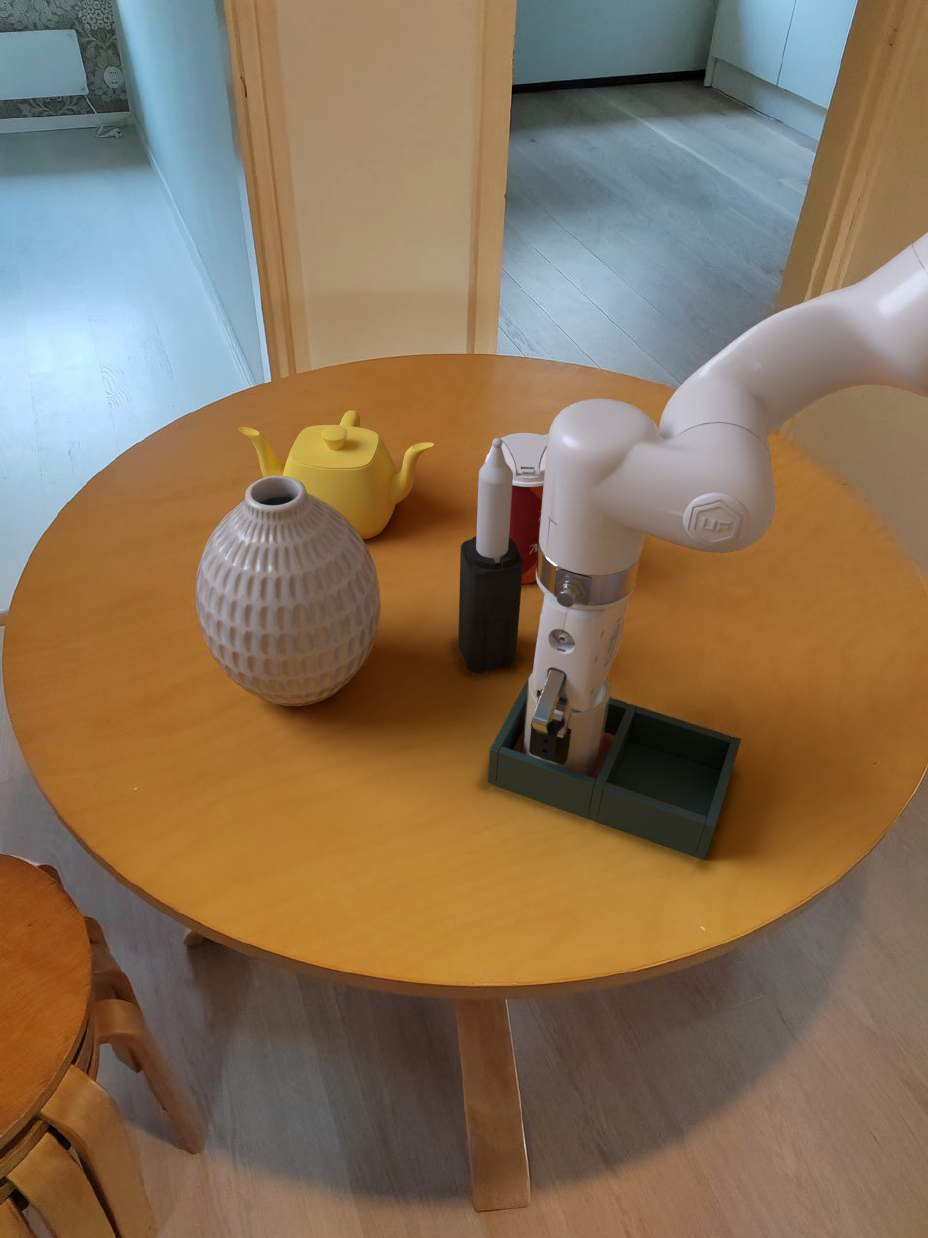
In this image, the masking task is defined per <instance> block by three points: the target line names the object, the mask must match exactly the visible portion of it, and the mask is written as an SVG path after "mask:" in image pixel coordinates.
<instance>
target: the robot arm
mask: <svg viewBox="0 0 928 1238" xmlns="http://www.w3.org/2000/svg"><path fill="white" fill-rule="evenodd" d="M866 385H867V386H868V385H871V386H872V385H876V386H877V385H879V386H887V387H891V388H895V389H898V390H899V389H900V390H903V391H904V390H905V391H908V392H910V393H913V394H915V395H918V396H921V397H925V398H928V231H927V232H925V234H923V235H922V236H921V237H919V238H918V239H917V240H916V241H914V242H911V244H909V245H908V246H906V247H905V248H904V249H903V250H901V251H900V252H899V253H898V254H896V255H895V256H894V257H893V258H891V259H890V260H889V261H887V262H886V263H885V264H883V265H882V266H880V267H879V268H878V269H877V270H875V271H874V272H872V273H871V274H870V275H868V276H866V277H865V278H864V279H862V280H860V281H858V282H856V283H854V284H852V285H849V286H846V287H843V288H839V289H836V290H832V291H828V292H826V293H823V294H821V295H818V296H816V297H814V298H811V299H808V300H806V301H804V302H801V303H798V304H796V305H793V306H790V307H789V308H788V307H787V308H785V309H783V310H781V311H779V312H777V313H774V314H772V315H770V316H769V317H766V318H764V319H763V320H761V321H760V322H758V323H757V324H755V325H753V326H752V327H750V328H749V329H748V330H746V331H745V332H743V333H741V335H739V336H737V338H735V339H734V340H733V341H731V342H730V343H729V344H728V345H726V346H725V347H724V348H722V350H720V351H719V352H718V353H716V354H715V355H714V356H713V357H712V358H710V359H709V360H708V361H706V362H705V363H704V364H703V365H701V366H700V367H699V368H698V369H697V370H696V371H694V372H693V373H692V374H691V375H690V376H689V377H688V378H686V380H685V381H683V383H682V384H681V385H680V386H679V387H678V388H677V389H676V390H675V391H674V393H673V394H672V395H671V397H670V398H669V399H668V401H667V403H666V404H665V407H664V409H663V411H662V413H661V416H660V420H659V426H657V425H656V422H654V420H653V418H652V416H650V415H649V414H648V413H647V412H645V411H644V410H642V409H641V408H639V407H638V406H635V405H633V404H631V403H629V402H625V401H621V400H617V399H613V398H612V399H611V398H591V399H590V398H589V399H583V400H579V401H577V402H575V403H572V404H570V405H568V406H566V407H565V408H563V409H562V410H561V411H560V412H558V414H557V415H556V416H555V418H554V419H553V420H552V422H551V424H550V427H549V431H548V434H549V435H548V442H547V452H546V464H545V475H544V486H543V498H542V510H541V522H540V533H539V545H538V556H537V567H536V584H537V585H538V587H539V589H540V590H541V592H542V593H543V594H544V596H543V601H542V607H541V612H540V615H539V624H538V630H537V638H536V643H535V651H534V657H533V658H534V659H533V668H532V672H533V680H532V687H533V692H534V694H535V695H536V697H539V698H538V701H537V705H536V708H535V712H534V714H533V717H532V721H531V734H530V745H529V752H530V753H531V754H532V755H535V756H538V757H540V758H542V759H545V760H548V761H552V762H555V763H558V764H562V765H564V764H565V763H566V761H567V759H568V752H569V745H570V737H571V730H572V729H569V728H568V726H569V722H570V719H571V715H572V712H573V709H574V710H578V711H581V712H585V711H587V710H589V709H590V708H591V707H592V706H593V704H594V702H595V700H596V698H597V696H598V694H599V692H600V690H601V688H602V685H603V683H604V681H605V679H606V677H607V678H608V675H609V672H610V670H611V668H612V666H613V663H614V661H615V660H616V656H617V654H618V652H619V649H620V647H621V643H622V640H623V634H624V627H625V619H626V611H627V601H628V600H629V599H630V597H631V596H632V595H633V594H634V592H635V588H636V585H637V579H638V575H639V574H638V573H639V568H640V562H641V557H642V551H643V545H644V539H645V535H648V536H651V537H654V538H657V539H660V540H662V541H666V542H668V543H671V544H674V545H677V546H680V547H683V548H687V549H691V550H694V551H698V552H703V553H711V554H712V553H713V554H728V553H729V554H730V553H734V552H740V551H742V550H744V549H747V548H750V547H751V546H752V545H754V544H755V543H757V542H759V540H761V538H763V536H764V535H765V534H766V533H767V532H768V529H769V528H770V526H771V524H772V521H773V519H774V516H775V511H776V490H775V481H774V474H773V467H772V457H771V450H770V442H769V441H770V440H769V435H771V434H772V433H774V432H775V431H776V430H777V429H779V428H780V427H782V426H783V425H784V424H786V423H787V422H789V421H790V420H791V419H793V418H794V417H796V416H797V415H798V414H799V413H802V412H803V411H804V410H806V409H807V408H809V407H810V406H812V405H813V404H815V403H816V402H819V401H820V400H822V399H824V398H826V397H828V396H831V395H832V394H835V393H837V392H840V391H842V390H846V389H849V388H854V387H858V386H866ZM563 686H565V692H566V695H567V696H564V695H561V692H562V689H563ZM557 703H558V704H561V705H565V708H564V712H563V715H562V718H561V721H559V720H556V719H553V714H554V711H555V708H556V705H557Z"/></svg>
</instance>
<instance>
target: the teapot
mask: <svg viewBox="0 0 928 1238" xmlns="http://www.w3.org/2000/svg"><path fill="white" fill-rule="evenodd" d="M237 429H238V432H240V433H241V434H242V435H243V436H245V437H246V438H247V439H248V440H249V441H250V442H251V443H252V444H253V447H254V448H255V451H256V454H257V456H258V462H259V466H260V471H261V474H262V476H263V477H262V478H265V477H269V476H288V477H291V478H294V479H297V480H299V481H300V482H301V483H302V484H303V485H304V486H305V488H306V491H307V493H309V494H311V495H313V496H315V497H317V498H319V499H321V500H322V501H324V502H326V503H328V504H329V505H331V506H332V507H334V508H335V509H336V510H338V511H339V512H340V513H341V514H343V515H344V516H345V517H346V518H347V519H348V520H349V521H350V523H351V524H352V525H353V526H354V527H355V528H356V530H357V531H358V533H359V534H360V536H361V537H362V539H363V540H368V539H372V538H374V537H377V536H379V535H380V534H381V533H382V532H383V531H384V529H385V528H386V526H387V525H388V523H389V521H390V519H391V518H392V515H393V513H394V511H395V509H396V505H397V504H398V503H400V502H402V501H403V500H404V499H405V498H407V497H408V496H409V494H410V492H411V490H412V488H413V486H414V482H415V476H416V467H417V462H418V460H419V458H420V456H421V455H422V454H423V453H424V452H426V451H428V450H429V449H431V448H433V447H434V445H435V444H434V443H433V442H427V441H425V442H419V443H415V444H413V445H411V446H410V447H409V448H408V449H406V452H405V453H404V455H403V460H402V466H401V468H400V470H399V471H397V470H396V467H395V464H394V460H393V457H392V456H391V454H390V451H389V449H388V447H387V446H386V444H385V442H384V441H383V439H382V437H381V436H380V434H378V433H377V432H375V431H373V430H371V429H368V428H364V427H361V416H360V414H359V412H358V411H357V410H354V409H353V410H352V409H351V410H348V411H346V412H345V413H344V414H343V416H342V418H341V420H340V423H339V424H317V425H316V424H315V425H310V426H307V427H305V428H303V429H302V430H301V431H300V432H299V434H298V435H297V437H296V438H295V440H294V443H293V445H292V447H291V448H290V451H289V454H288V455H287V459H286V462H285V463H284V462H282V461H281V460H280V459H279V458H278V457H277V456H276V455H275V453H274V451H273V449H272V446H271V444H270V442H269V440H268V439H267V438H266V436H265V435H264V434H263V433H262V432H260V431H259V430H257V429H254V428H251V427H247V426H239V427H238V428H237Z"/></svg>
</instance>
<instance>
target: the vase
mask: <svg viewBox="0 0 928 1238" xmlns="http://www.w3.org/2000/svg"><path fill="white" fill-rule="evenodd" d="M364 540H365V539H362V537H361V536H360V534H359V533H358V531H357V530H356V528H355V527H354V526H353V525H352V524H351V523H350V521H349V520H348V519H347V518H346V517H345V516H344V515H343V514H341V513H340V512H339V511H338V510H336V509H335V508H334V507H332V506H331V505H329V504H328V503H326V502H324V501H322V500H321V499H319V498H317V497H315V496H313V495H311V494H309V493H307V491H306V488H305V486H304V485H303V484H302V483H301V482H300V481H299V480H297V479H294V478H291V477H288V476H269V477H265V478H264V477H262V478H259V479H258V480H255V481H254V482H253V483H251V484H250V485H249V486H248V487H247V488H246V490H245V492H244V499H242V501H240V502H239V503H238V504H237V505H236V506H235V507H233V509H232V510H230V511H229V512H228V513H227V514H226V515H225V516H224V517H223V518H222V519H221V521H220V522H219V523H218V524H217V526H216V527H215V528H213V531H212V533H211V534H210V536H209V538H208V539H207V542H206V544H205V546H204V548H203V551H202V553H201V557H200V561H199V562H198V563H199V564H198V566H197V572H196V580H195V590H194V591H195V594H194V595H195V606H196V607H195V609H196V612H197V618H198V623H199V626H200V631H201V634H202V636H203V638H204V641H205V643H206V646H207V647H208V649H209V652H210V654H211V656H212V657H213V659H214V660H215V661H216V663H217V664H218V666H219V667H220V668H221V670H223V672H224V673H225V675H227V677H228V678H229V679H231V680H232V681H233V682H234V683H235V684H236V685H238V686H239V687H240V688H242V689H244V690H245V691H246V692H248V693H249V694H251V695H253V696H255V697H256V698H258V699H261V700H263V701H266V702H268V703H271V704H275V705H278V706H284V707H302V706H309V705H313V704H316V703H318V702H322V701H324V700H327V699H328V698H331V697H332V696H333V695H334V694H336V693H338V692H339V691H340V690H341V689H342V688H343V687H344V686H346V685H347V684H348V683H349V682H350V681H351V680H352V679H353V677H354V676H355V675H356V674H358V671H359V670H360V669H361V668H362V666H363V665H364V664H365V662H366V661H367V659H368V657H369V655H370V653H371V650H372V648H373V645H374V643H375V640H376V637H377V634H378V630H379V625H380V618H381V608H382V605H381V588H380V582H379V576H378V571H377V567H376V565H375V562H374V559H373V557H372V554H371V552H370V550H369V547H368V545H367V543H366V541H364Z"/></svg>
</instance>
